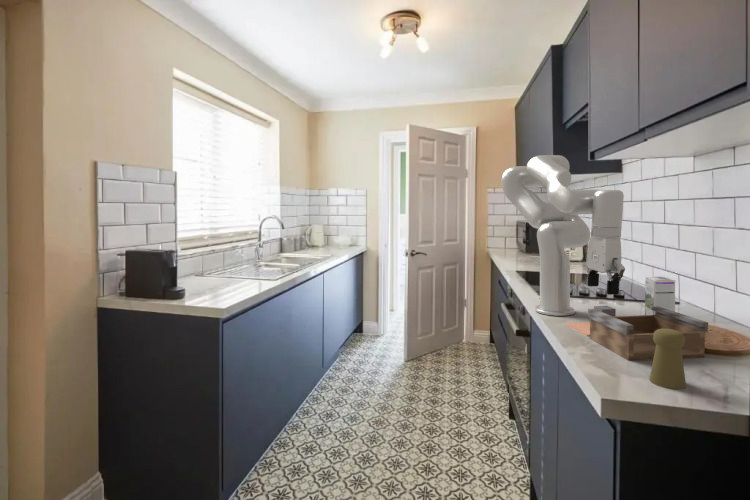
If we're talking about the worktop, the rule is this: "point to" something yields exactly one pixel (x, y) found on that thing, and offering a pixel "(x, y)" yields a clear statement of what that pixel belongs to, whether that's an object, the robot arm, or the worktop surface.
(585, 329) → the lid
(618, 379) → the worktop surface
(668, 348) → the cork
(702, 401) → the worktop surface
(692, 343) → the box
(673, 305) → the syrup box
